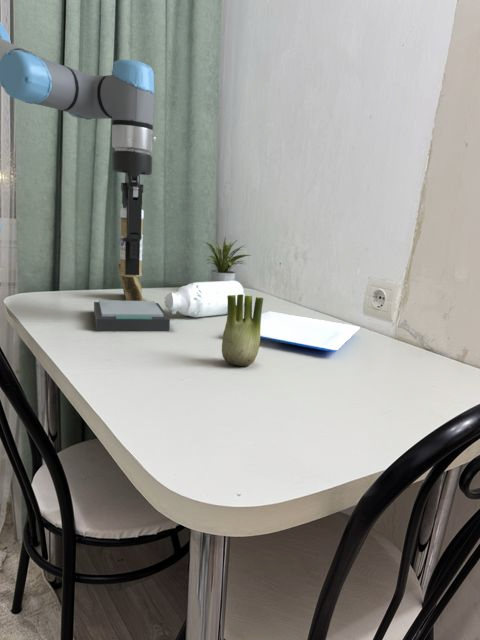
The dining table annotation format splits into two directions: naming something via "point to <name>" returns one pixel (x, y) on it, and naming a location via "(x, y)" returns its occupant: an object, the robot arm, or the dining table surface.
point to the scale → (130, 316)
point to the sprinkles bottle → (122, 243)
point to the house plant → (224, 262)
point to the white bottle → (203, 298)
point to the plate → (305, 331)
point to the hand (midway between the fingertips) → (130, 272)
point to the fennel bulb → (242, 330)
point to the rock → (131, 288)
